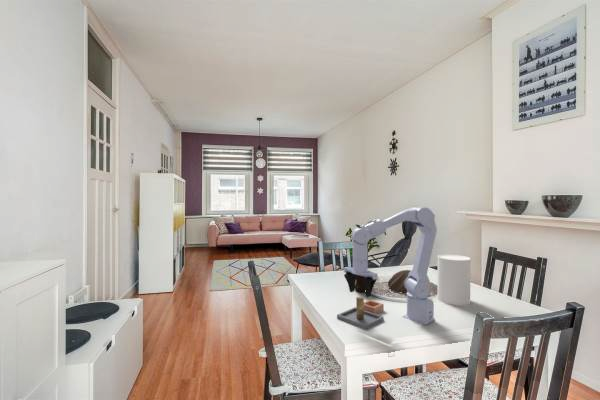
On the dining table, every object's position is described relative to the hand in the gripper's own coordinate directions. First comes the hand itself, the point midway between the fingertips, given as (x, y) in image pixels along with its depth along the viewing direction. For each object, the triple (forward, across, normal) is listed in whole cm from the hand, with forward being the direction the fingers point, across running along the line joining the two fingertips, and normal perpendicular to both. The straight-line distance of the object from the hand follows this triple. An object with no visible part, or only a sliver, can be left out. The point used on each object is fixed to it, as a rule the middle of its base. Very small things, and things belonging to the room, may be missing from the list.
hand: (360, 293), depth 117 cm
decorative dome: (+11, -7, +50) cm, 52 cm away
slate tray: (+10, 0, 0) cm, 10 cm away
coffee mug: (+11, -21, +30) cm, 38 cm away
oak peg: (+10, 0, 0) cm, 10 cm away
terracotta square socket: (+10, -2, +11) cm, 15 cm away
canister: (+11, +16, +50) cm, 53 cm away
